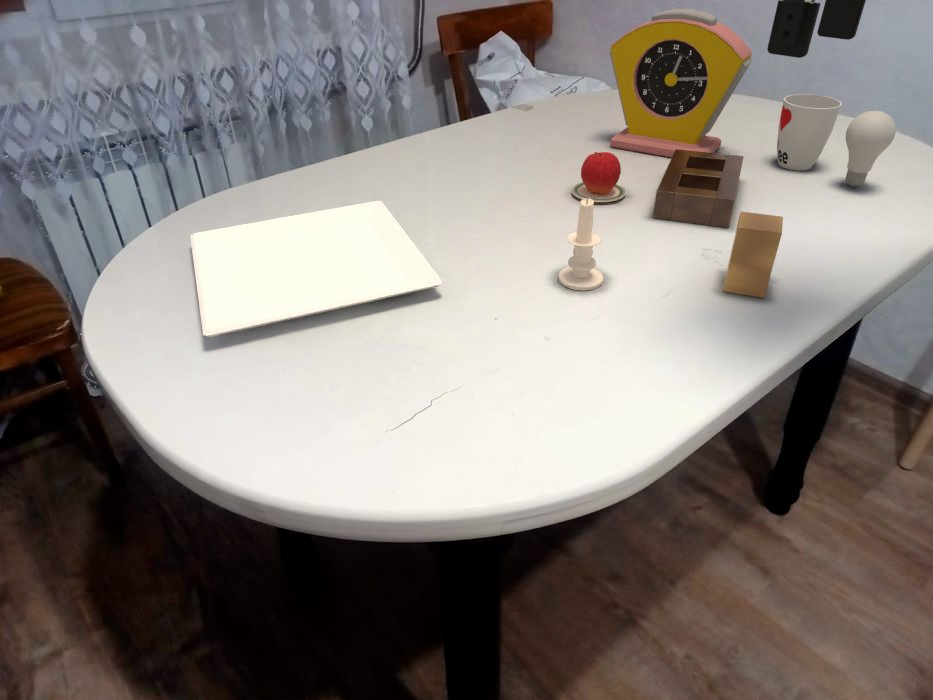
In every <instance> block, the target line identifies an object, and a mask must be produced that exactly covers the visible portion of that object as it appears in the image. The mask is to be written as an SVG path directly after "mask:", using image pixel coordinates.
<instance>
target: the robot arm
mask: <svg viewBox="0 0 933 700" xmlns="http://www.w3.org/2000/svg"><path fill="white" fill-rule="evenodd" d="M816 1H817V0H777V5H776V9H775V13H774V18H773V21H772V27H771V31H770V35H769V40H768V44H767V52H768V54H770V55H777V56H784V57H791V58H796V59H797V58H799V59H801V58H805V57H806V56H807V55H808V53H809V50H810V47H811V42H812V38H813V34H814V30H815V27H816V23H817V19H818V16H819V11H820V9H821V8H820V7H821V2H816ZM866 2H867V0H825V1H824V6H823V9H822V13H821V15H820V16H821V17H820V21H819V24H818V27H817V33H816V34H817V35H818V37H824V38H830V39H839V40H848V41H849V40H852V39H854V38H855V37H856V35H857V31H858V28H859V24H860V21H861V18H862V14H863V11H864V8H865V5H866Z"/></svg>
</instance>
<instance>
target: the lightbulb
mask: <svg viewBox="0 0 933 700" xmlns="http://www.w3.org/2000/svg"><path fill="white" fill-rule="evenodd" d="M896 131H897V128H896V124H895V121H894V119H893V118H892V117H891V116H890V115H889V114H887V113H886V112H884V111H880V110H869V111H865V112H863V113H861V114H858V115H857V116H856V117H854V119H853V120H852V121H850V123H849V125H848V126H847V128H846V131H845V143H846V148H847V150H848V160H847V161H848V162H847V165H846V168H847V172H846V175H845V179H844V182H845V183H846V184H847V185H848V186H849V187H851V188H857V187H858V186H863V185H864V183H865V181H866V179H867V177H868V173H869V172H870V171H871V170H872V168H873V166H874V163H875V162H876V160H877V159H878V158H879V157H880V155H881V154H883V153H884V151H886V149H887V148H888V147H890V145H891V144H892V142H893V141H894V139H895V137H896Z"/></svg>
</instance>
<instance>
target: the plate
mask: <svg viewBox="0 0 933 700" xmlns="http://www.w3.org/2000/svg"><path fill="white" fill-rule="evenodd" d="M189 237H190V244H191V253H192V261H193V267H194V277H195V282H196V290H197V291H196V292H197V298H198V306H199V313H200V321H201V329H202V336H206V337H210V338H213V337H217V336H222V335H226V334H231V333H236V332H239V331H245V330H248V329H253V328H258V327H263V326H266V325H271V324H276V323H280V322H284V321H290V320H294V319H299V318H303V317H307V316H311V315H312V316H313V315H317V314H321V313H325V312H329V311H334V310H339V309H343V308H348V307H352V306H357V305H363V304H366V303H370V302H375V301H380V300H384V299H387V298H388V299H389V298H392V297H397V296H402V295H406V294H410V293H415V292H419V291H424V290H430V289H433V288H437V287H439V286H441V285H442V284H443V283H444V281H443V280H442V279H441V277H440V275H439V274H437V272H436V271H435V270H434V268H433V267H432V265H431V264H430V263H429V262H428V260H427V259H426V258H425V256H424V255H423V253H422V252H421V251H420V250H419V248H418V247H417V246H416V244H415V243H414V241H412V239H411V238H410V236H409V235H408V234H407V233H406V231H405V230H404V229H403V227H402V226H401V225H400V223H399V222H398V221H397V219H396V218H395V217H394V216H393V214H392V213H391V211H390V210H389V208H388V207H387V206H386V205H385V204H384V202H383V201H382V200H374V201H367V202H363V203H357V204H356V203H355V204H351V205H344V206H340V207H339V206H338V207H334V208H328V209H322V210H317V211H311V212H306V213H301V214H295V215H289V216H282V217H278V218H272V219H266V220H259V221H255V222H249V223H243V224H238V225H233V226H226V227H221V228H220V227H219V228H216V229H209V230H204V231H199V232H194V233H192V234H190V235H189Z"/></svg>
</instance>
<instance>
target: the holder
mask: <svg viewBox="0 0 933 700" xmlns="http://www.w3.org/2000/svg"><path fill="white" fill-rule="evenodd" d="M744 157H745V156H744V155H736V154H726V153H717V152H714V153H708V152H698V151H688V150H678V149H676V150H675V152H674V154H673V156H672V158H671V157H670V161H669V163H668V165H667V167H666V169H665V172H664V174H663V176H662V178H661V181H660V182H659V184H658V187H657V189H656V193H655V200H654V205H653V212H652V213H653V214H652V218H653V219H659V220H667V221H674V222H680V223H681V222H682V223H688V224H696V225H702V226H703V225H704V226H709V227H717V228H725V229H729V227H730V224H731V223H730V222H731V219H732V214H733V209H734V205H735V201H736V196H737V191H738V186H739V181H740V176H741V172H742V171H741V170H742V166H743V161H744Z"/></svg>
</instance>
